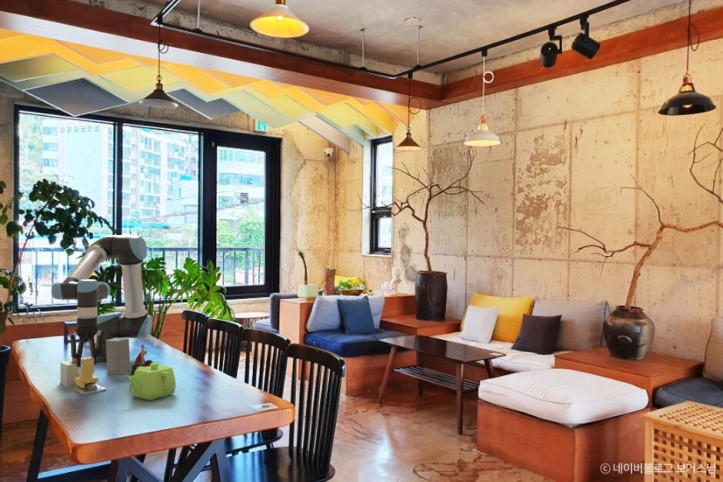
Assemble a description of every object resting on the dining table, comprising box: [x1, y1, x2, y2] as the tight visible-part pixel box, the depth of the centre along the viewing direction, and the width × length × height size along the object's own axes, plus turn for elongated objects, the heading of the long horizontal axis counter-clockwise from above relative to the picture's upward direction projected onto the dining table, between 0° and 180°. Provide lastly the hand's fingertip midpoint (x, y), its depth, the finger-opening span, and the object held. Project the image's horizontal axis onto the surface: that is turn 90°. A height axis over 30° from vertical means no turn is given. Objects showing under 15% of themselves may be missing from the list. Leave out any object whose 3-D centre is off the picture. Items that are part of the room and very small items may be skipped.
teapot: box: [127, 362, 177, 401], centre depth 216 cm, size 18×20×13 cm
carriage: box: [74, 356, 99, 388], centre depth 227 cm, size 7×7×11 cm
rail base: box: [68, 383, 107, 396], centre depth 226 cm, size 9×15×3 cm, turn 47°
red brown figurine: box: [129, 344, 154, 389], centre depth 230 cm, size 11×9×18 cm
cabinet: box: [59, 360, 80, 388], centre depth 235 cm, size 10×8×9 cm
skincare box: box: [106, 338, 131, 376], centre depth 253 cm, size 8×7×16 cm
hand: (86, 373), depth 227 cm, fingers closed on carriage, 3 cm apart
